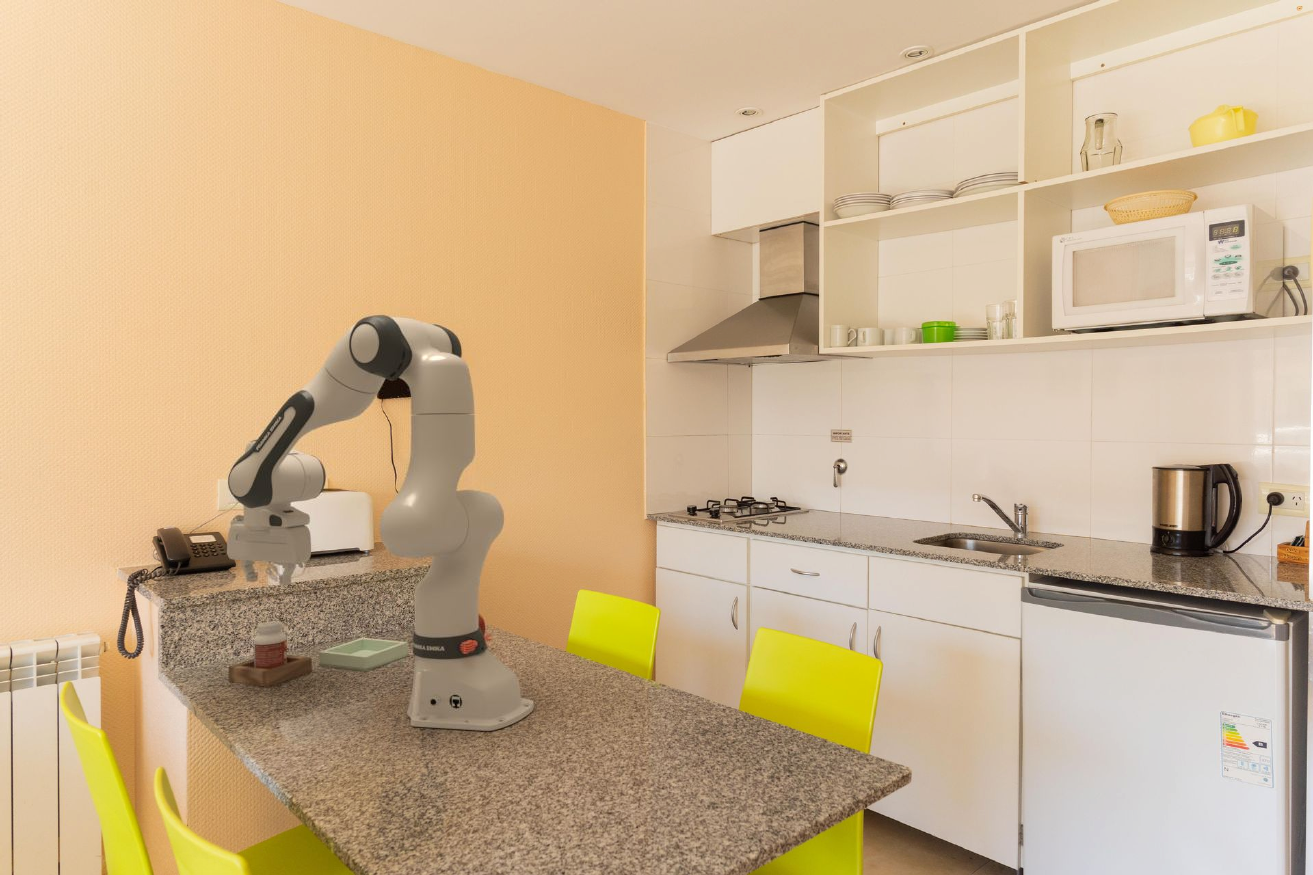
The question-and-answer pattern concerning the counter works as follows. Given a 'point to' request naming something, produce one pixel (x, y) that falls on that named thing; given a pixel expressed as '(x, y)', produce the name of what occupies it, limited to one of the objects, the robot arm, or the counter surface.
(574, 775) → the counter surface
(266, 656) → the pill bottle
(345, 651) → the tray
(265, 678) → the collar
